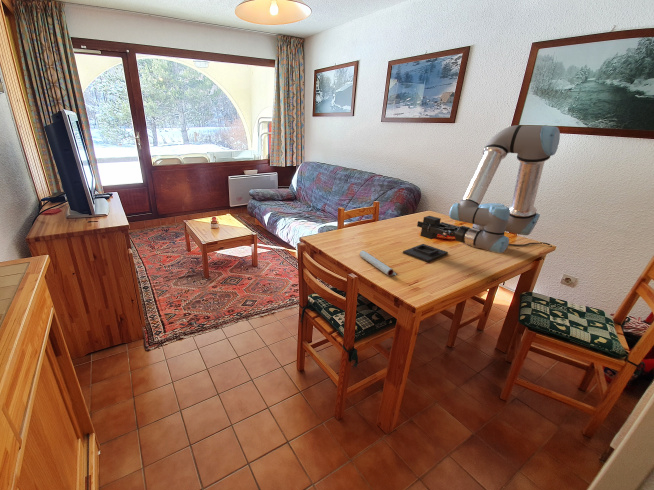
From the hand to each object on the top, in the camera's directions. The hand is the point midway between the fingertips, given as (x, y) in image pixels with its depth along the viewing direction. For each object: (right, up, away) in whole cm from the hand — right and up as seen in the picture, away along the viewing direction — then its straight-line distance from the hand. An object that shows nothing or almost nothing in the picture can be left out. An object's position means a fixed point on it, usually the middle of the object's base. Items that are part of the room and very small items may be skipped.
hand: (421, 222), depth 159 cm
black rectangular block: (+3, -7, -2) cm, 8 cm away
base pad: (+3, -16, +2) cm, 16 cm away
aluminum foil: (-26, -21, -11) cm, 35 cm away
